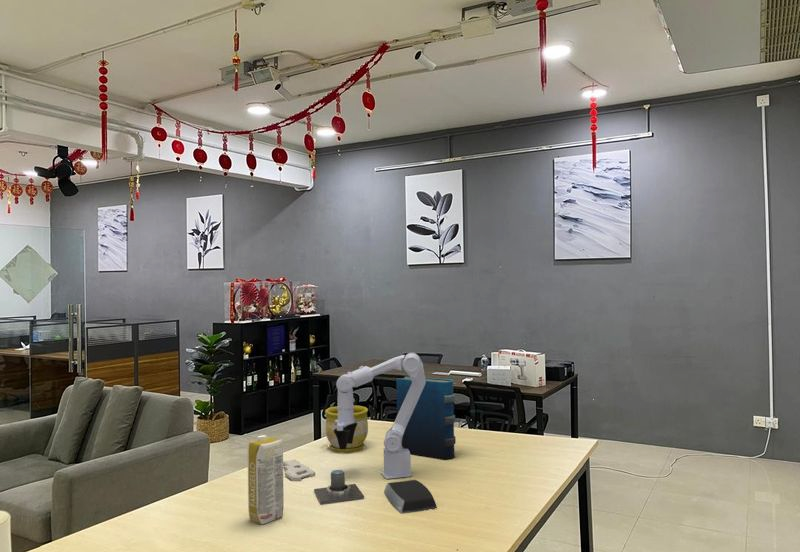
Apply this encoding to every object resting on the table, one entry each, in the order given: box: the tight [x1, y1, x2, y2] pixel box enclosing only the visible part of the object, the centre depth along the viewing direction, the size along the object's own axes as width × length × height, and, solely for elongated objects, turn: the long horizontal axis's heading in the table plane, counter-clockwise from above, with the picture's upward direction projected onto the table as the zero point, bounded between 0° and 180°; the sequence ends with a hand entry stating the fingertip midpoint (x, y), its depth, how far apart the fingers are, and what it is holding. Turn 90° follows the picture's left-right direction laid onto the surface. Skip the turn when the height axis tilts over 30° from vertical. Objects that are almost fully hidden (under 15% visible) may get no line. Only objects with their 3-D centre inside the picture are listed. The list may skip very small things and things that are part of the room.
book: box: [395, 375, 457, 461], centre depth 233 cm, size 24×9×30 cm, turn 58°
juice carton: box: [247, 434, 285, 525], centre depth 170 cm, size 9×8×24 cm
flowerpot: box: [324, 404, 369, 454], centre depth 242 cm, size 18×18×16 cm
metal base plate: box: [313, 483, 365, 505], centre depth 187 cm, size 14×12×2 cm
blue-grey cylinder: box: [330, 469, 346, 491], centre depth 187 cm, size 4×4×7 cm
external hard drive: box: [383, 479, 438, 514], centre depth 182 cm, size 13×19×4 cm
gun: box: [283, 459, 316, 482], centre depth 211 cm, size 18×4×10 cm
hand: (346, 446), depth 208 cm, fingers open, 7 cm apart
